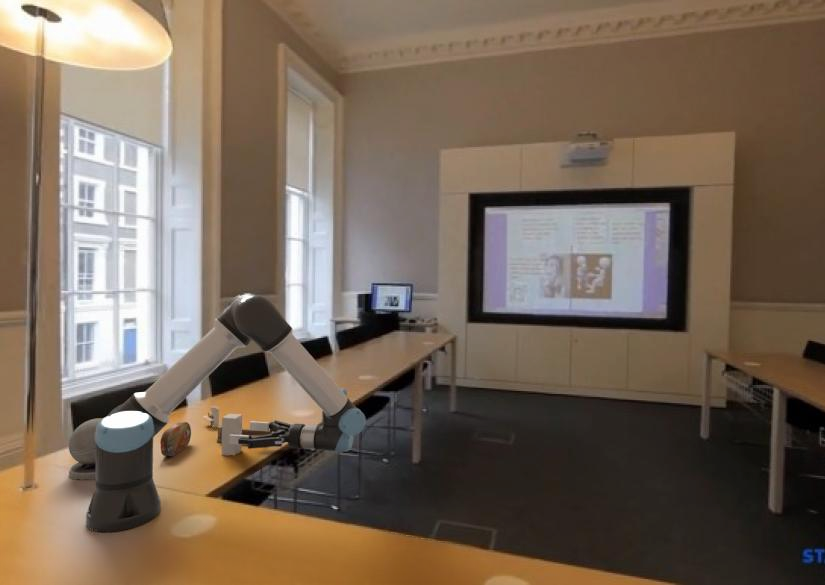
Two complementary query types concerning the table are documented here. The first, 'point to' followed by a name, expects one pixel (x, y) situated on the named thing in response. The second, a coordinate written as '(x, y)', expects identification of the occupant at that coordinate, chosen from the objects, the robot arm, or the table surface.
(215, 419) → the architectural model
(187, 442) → the tin
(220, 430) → the rack
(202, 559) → the table surface
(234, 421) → the clay bar
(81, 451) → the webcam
